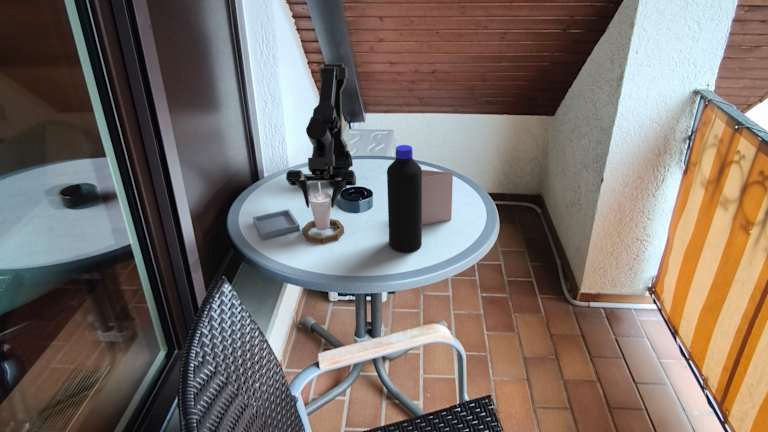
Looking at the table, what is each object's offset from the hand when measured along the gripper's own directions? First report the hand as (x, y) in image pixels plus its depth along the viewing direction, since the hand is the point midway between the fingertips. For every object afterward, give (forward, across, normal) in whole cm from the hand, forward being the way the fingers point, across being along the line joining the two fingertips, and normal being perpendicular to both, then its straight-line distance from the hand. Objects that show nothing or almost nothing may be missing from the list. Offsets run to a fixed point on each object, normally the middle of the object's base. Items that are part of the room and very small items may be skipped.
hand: (319, 207), depth 148 cm
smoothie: (+4, 0, +6) cm, 7 cm away
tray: (+3, -14, +10) cm, 18 cm away
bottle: (+10, +23, +3) cm, 26 cm away
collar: (+6, 0, +7) cm, 9 cm away
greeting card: (+1, +30, +12) cm, 33 cm away
